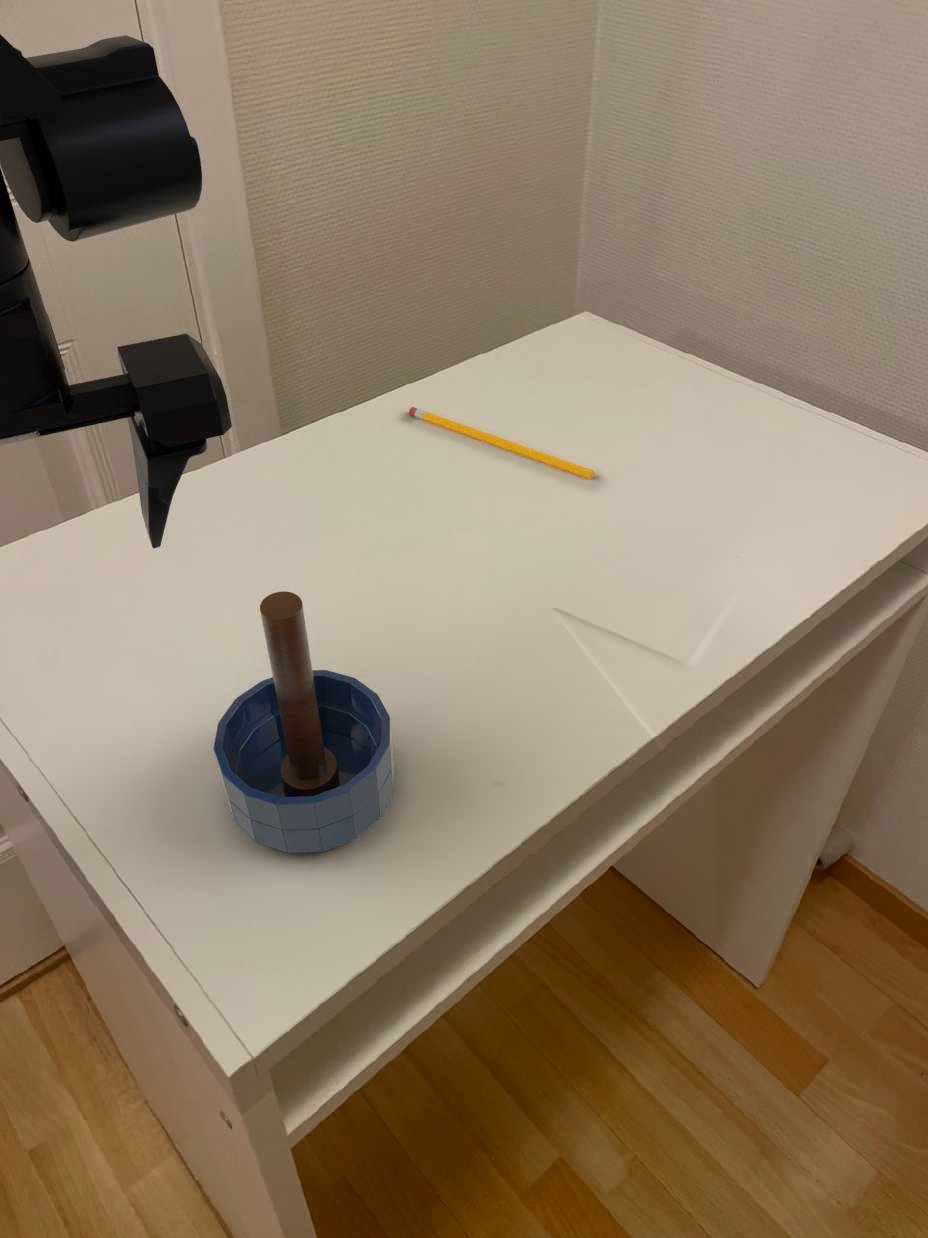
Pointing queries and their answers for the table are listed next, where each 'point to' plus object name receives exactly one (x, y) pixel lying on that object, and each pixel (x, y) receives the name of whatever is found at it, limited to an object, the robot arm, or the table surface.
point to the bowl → (258, 748)
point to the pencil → (503, 443)
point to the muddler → (296, 698)
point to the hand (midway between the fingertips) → (65, 566)
